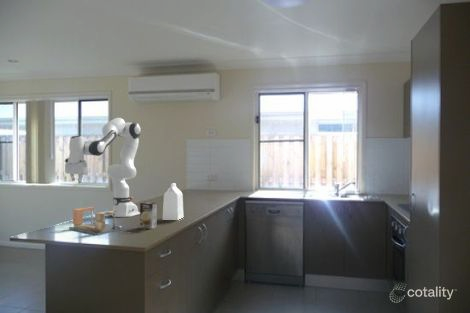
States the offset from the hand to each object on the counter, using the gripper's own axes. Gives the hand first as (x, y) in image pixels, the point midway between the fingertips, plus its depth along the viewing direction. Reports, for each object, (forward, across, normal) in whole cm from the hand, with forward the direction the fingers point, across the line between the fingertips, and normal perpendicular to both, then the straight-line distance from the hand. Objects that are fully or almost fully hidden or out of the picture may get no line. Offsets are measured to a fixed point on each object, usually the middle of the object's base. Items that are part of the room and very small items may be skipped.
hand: (76, 181), depth 230 cm
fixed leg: (+28, -22, +1) cm, 36 cm away
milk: (+29, -38, -52) cm, 71 cm away
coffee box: (+29, -44, -22) cm, 57 cm away
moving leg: (+27, -11, +1) cm, 29 cm away
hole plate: (+29, -22, 0) cm, 37 cm away
